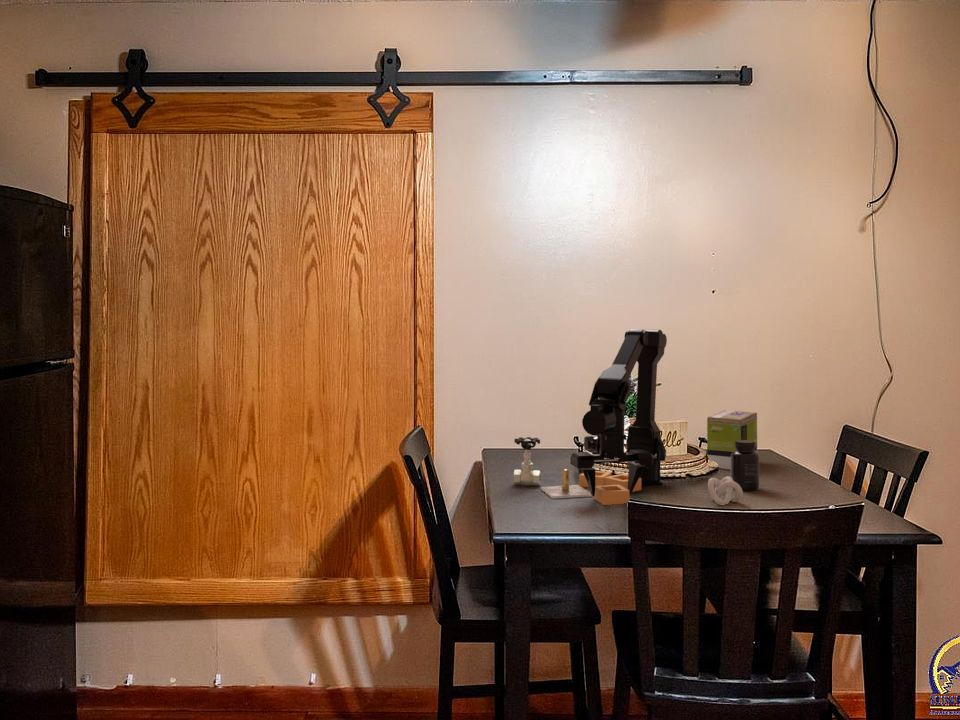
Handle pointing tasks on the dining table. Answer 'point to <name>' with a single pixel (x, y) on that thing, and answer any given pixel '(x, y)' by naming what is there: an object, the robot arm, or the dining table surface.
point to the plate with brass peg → (565, 489)
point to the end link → (611, 494)
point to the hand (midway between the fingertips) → (611, 494)
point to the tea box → (729, 434)
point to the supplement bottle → (745, 465)
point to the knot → (724, 490)
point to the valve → (527, 464)
